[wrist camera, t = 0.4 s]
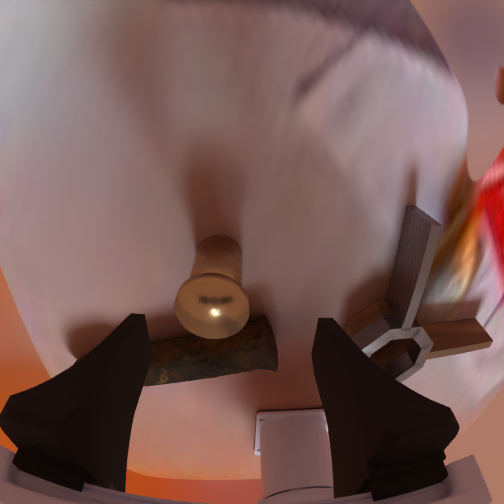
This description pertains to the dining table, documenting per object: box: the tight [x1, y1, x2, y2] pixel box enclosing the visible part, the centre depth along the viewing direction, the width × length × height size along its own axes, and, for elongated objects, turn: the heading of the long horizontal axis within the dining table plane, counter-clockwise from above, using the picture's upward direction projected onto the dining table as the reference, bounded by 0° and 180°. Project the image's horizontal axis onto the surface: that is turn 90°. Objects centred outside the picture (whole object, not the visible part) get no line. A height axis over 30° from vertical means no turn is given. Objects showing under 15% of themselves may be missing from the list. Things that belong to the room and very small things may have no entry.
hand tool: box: [74, 314, 278, 386], centre depth 23 cm, size 19×4×5 cm, turn 103°
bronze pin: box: [175, 236, 249, 339], centre depth 19 cm, size 4×4×6 cm
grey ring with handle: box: [352, 206, 442, 383], centre depth 22 cm, size 14×6×4 cm, turn 179°
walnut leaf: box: [345, 301, 493, 365], centre depth 23 cm, size 6×14×4 cm, turn 89°
